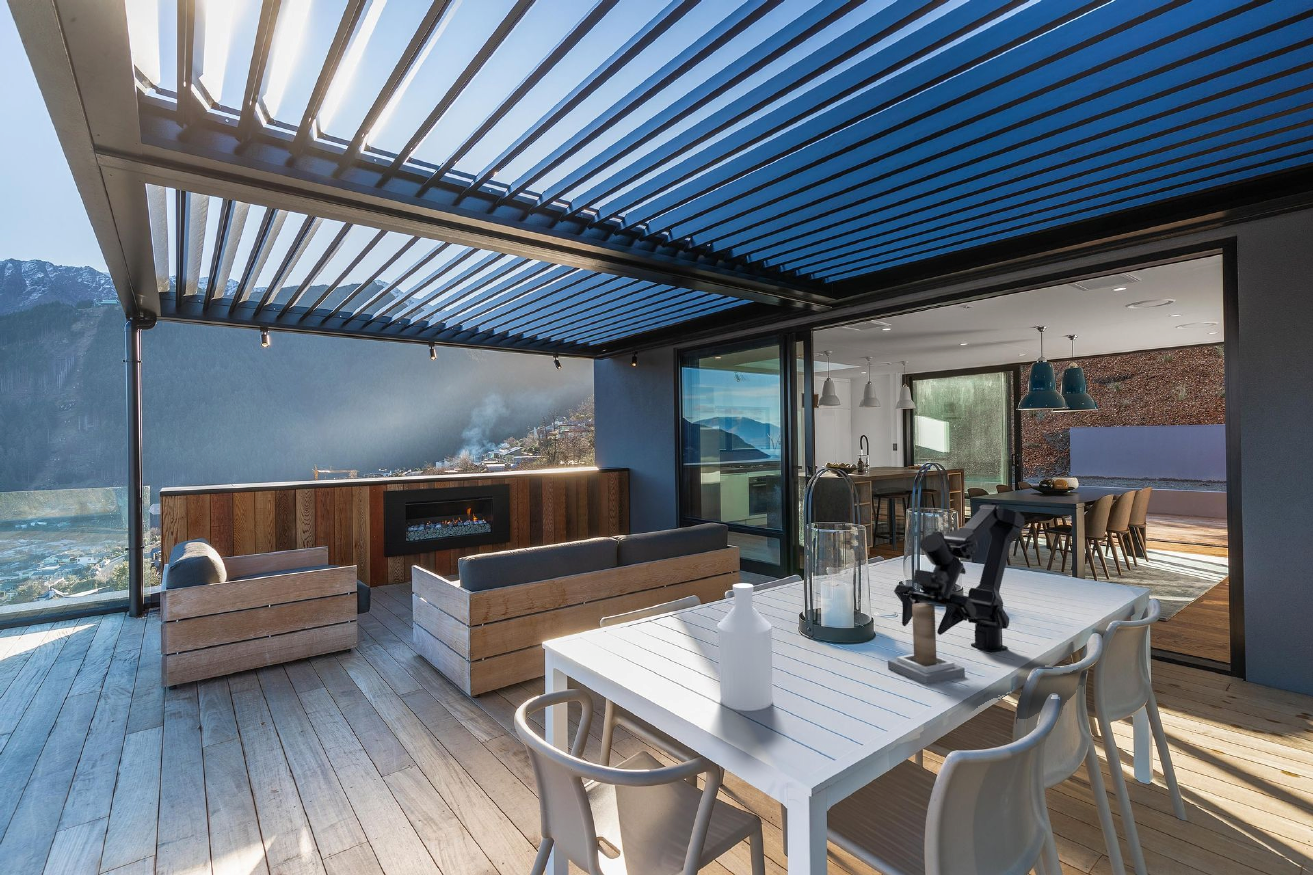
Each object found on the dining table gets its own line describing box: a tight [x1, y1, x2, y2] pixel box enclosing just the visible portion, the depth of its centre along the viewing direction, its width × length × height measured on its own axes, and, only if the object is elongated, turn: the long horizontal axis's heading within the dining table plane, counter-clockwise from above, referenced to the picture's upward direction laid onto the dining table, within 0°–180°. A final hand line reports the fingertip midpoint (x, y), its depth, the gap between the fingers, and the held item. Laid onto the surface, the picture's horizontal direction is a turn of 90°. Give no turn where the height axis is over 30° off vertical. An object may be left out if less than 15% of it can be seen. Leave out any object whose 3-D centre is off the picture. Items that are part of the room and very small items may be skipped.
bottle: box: [716, 582, 774, 712], centre depth 134 cm, size 12×12×25 cm
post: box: [912, 602, 937, 667], centre depth 147 cm, size 5×5×14 cm
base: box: [887, 653, 966, 686], centre depth 147 cm, size 12×12×3 cm
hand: (920, 629), depth 146 cm, fingers open, 9 cm apart
